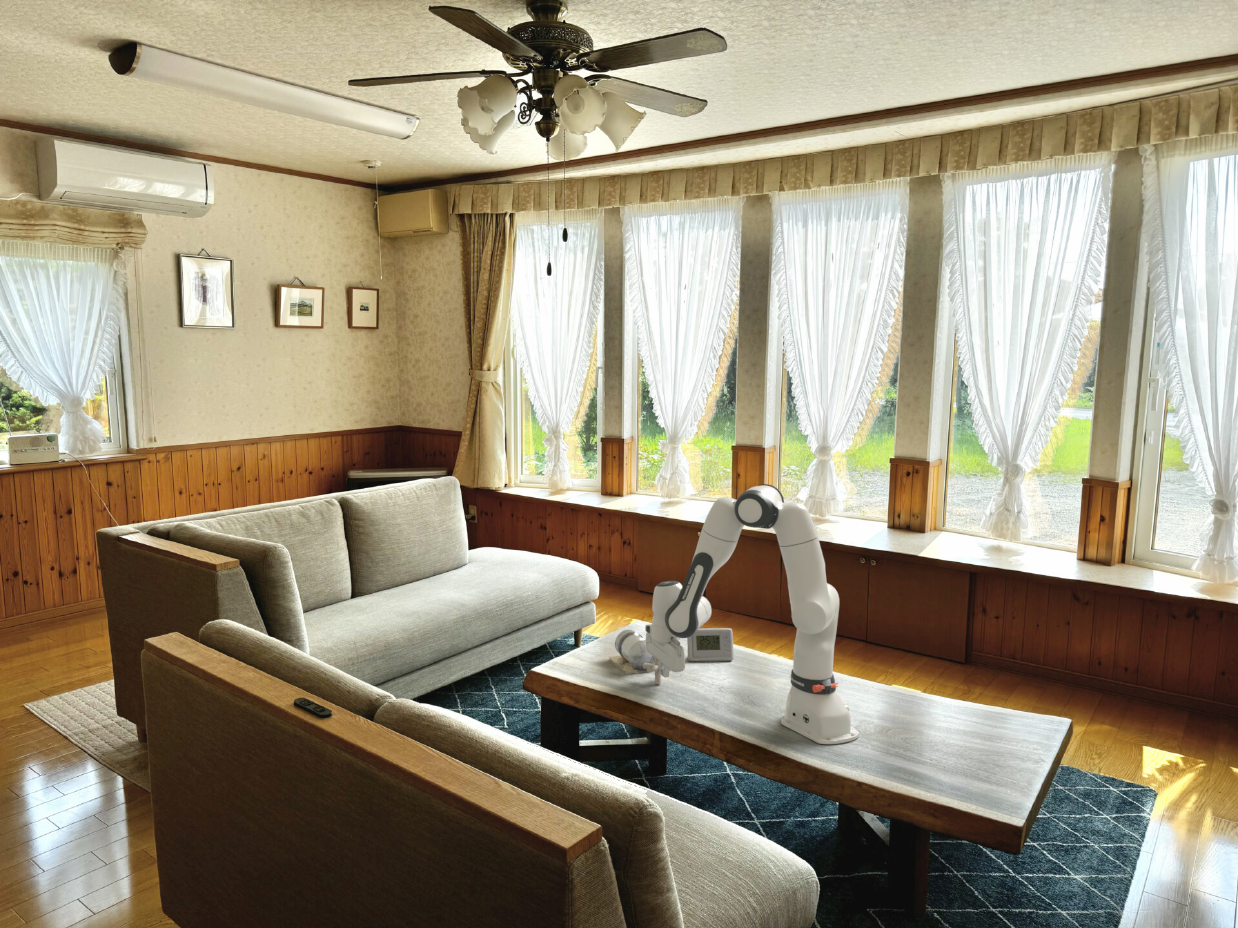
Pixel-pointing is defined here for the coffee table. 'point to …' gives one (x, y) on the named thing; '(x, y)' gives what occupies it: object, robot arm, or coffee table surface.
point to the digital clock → (711, 645)
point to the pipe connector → (653, 668)
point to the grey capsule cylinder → (631, 653)
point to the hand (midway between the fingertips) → (664, 675)
